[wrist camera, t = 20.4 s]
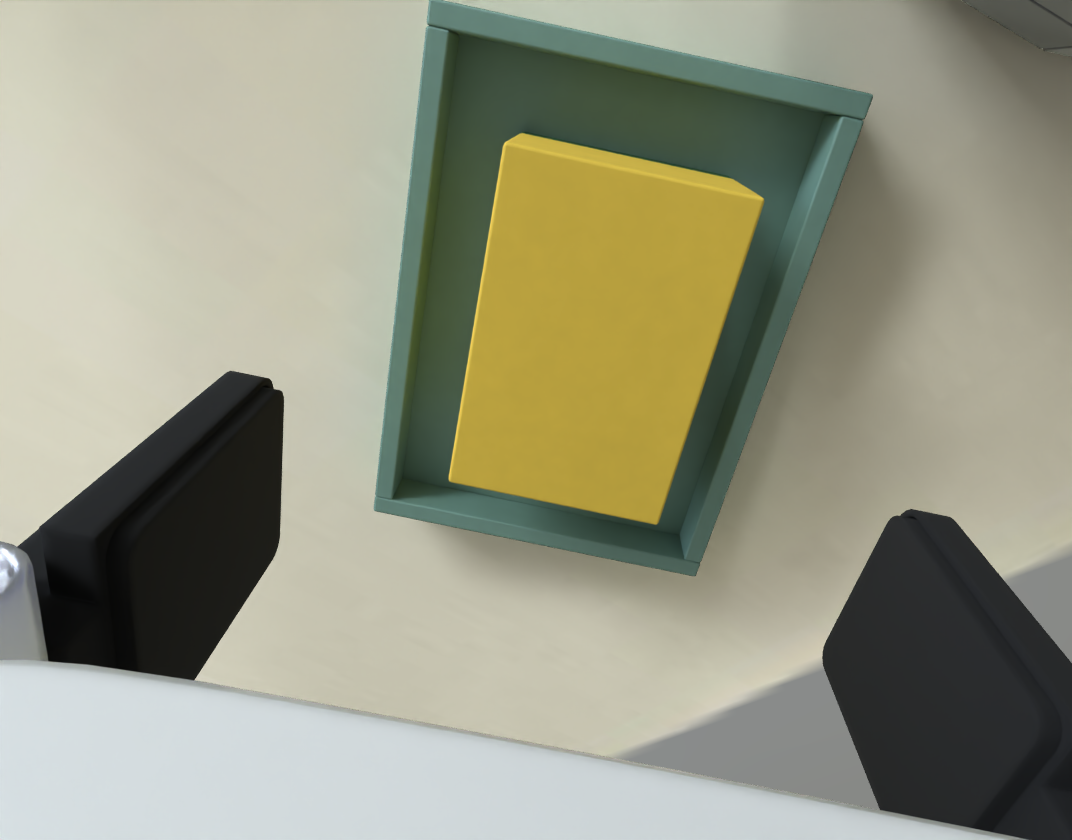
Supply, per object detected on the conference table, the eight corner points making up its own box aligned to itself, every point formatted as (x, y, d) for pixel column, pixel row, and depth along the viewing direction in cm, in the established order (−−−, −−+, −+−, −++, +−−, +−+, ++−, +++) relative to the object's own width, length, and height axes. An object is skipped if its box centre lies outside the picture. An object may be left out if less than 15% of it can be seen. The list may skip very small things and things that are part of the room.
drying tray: (444, 5, 19) (428, -3, 17) (848, 94, 19) (875, 94, 17) (388, 481, 25) (372, 511, 24) (688, 543, 25) (695, 577, 24)
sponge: (521, 130, 19) (503, 141, 15) (730, 175, 20) (766, 198, 16) (472, 414, 23) (447, 483, 19) (646, 451, 23) (658, 526, 19)
